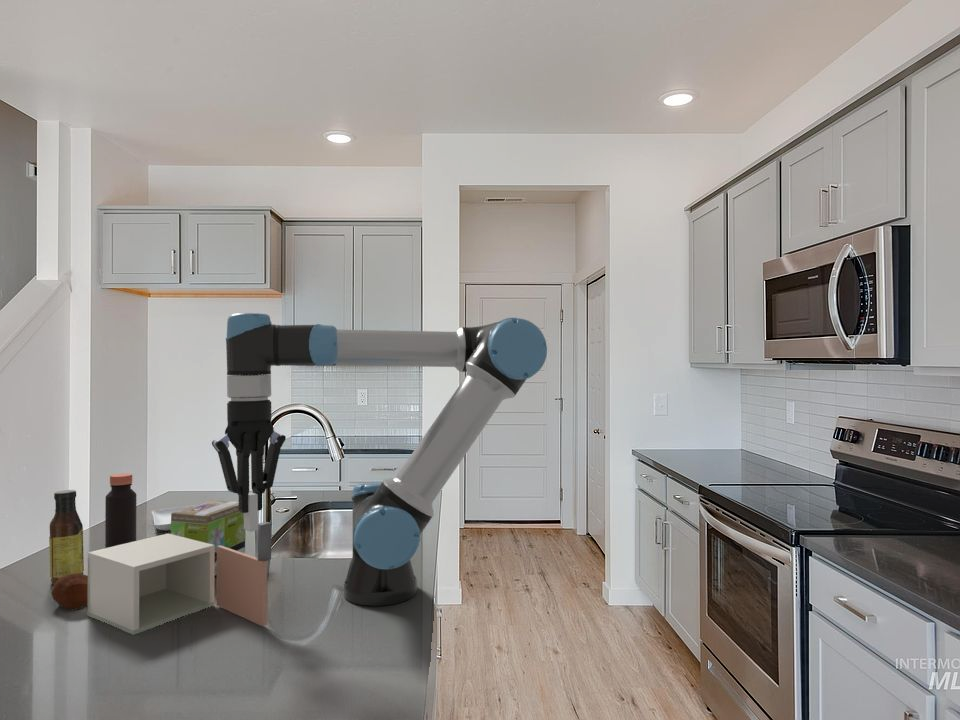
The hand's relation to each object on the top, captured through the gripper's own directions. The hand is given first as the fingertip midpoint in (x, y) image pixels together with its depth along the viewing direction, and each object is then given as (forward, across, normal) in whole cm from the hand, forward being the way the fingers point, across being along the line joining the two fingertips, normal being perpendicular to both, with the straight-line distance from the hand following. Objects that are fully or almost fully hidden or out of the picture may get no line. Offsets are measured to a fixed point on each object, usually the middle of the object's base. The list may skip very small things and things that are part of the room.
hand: (250, 529), depth 113 cm
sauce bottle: (+18, +20, -52) cm, 59 cm away
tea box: (+18, -6, -40) cm, 44 cm away
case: (+18, +11, -22) cm, 30 cm away
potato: (+18, +22, -35) cm, 45 cm away
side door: (+18, -2, -7) cm, 19 cm away
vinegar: (+18, +6, -66) cm, 69 cm away
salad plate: (+18, -18, -88) cm, 92 cm away
